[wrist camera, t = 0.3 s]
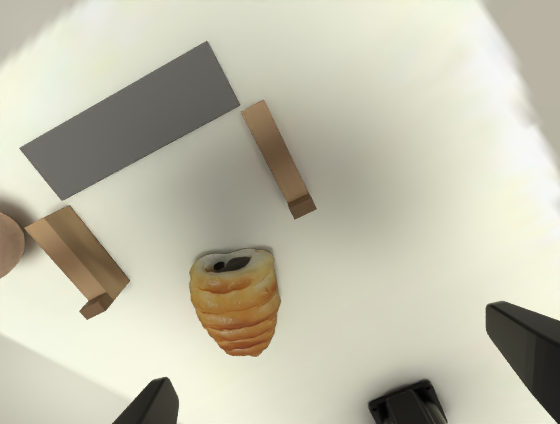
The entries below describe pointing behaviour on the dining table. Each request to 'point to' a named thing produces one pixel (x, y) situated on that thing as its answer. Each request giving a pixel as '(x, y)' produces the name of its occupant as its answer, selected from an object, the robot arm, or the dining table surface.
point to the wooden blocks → (97, 262)
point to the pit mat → (132, 122)
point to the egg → (10, 244)
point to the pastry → (236, 299)
